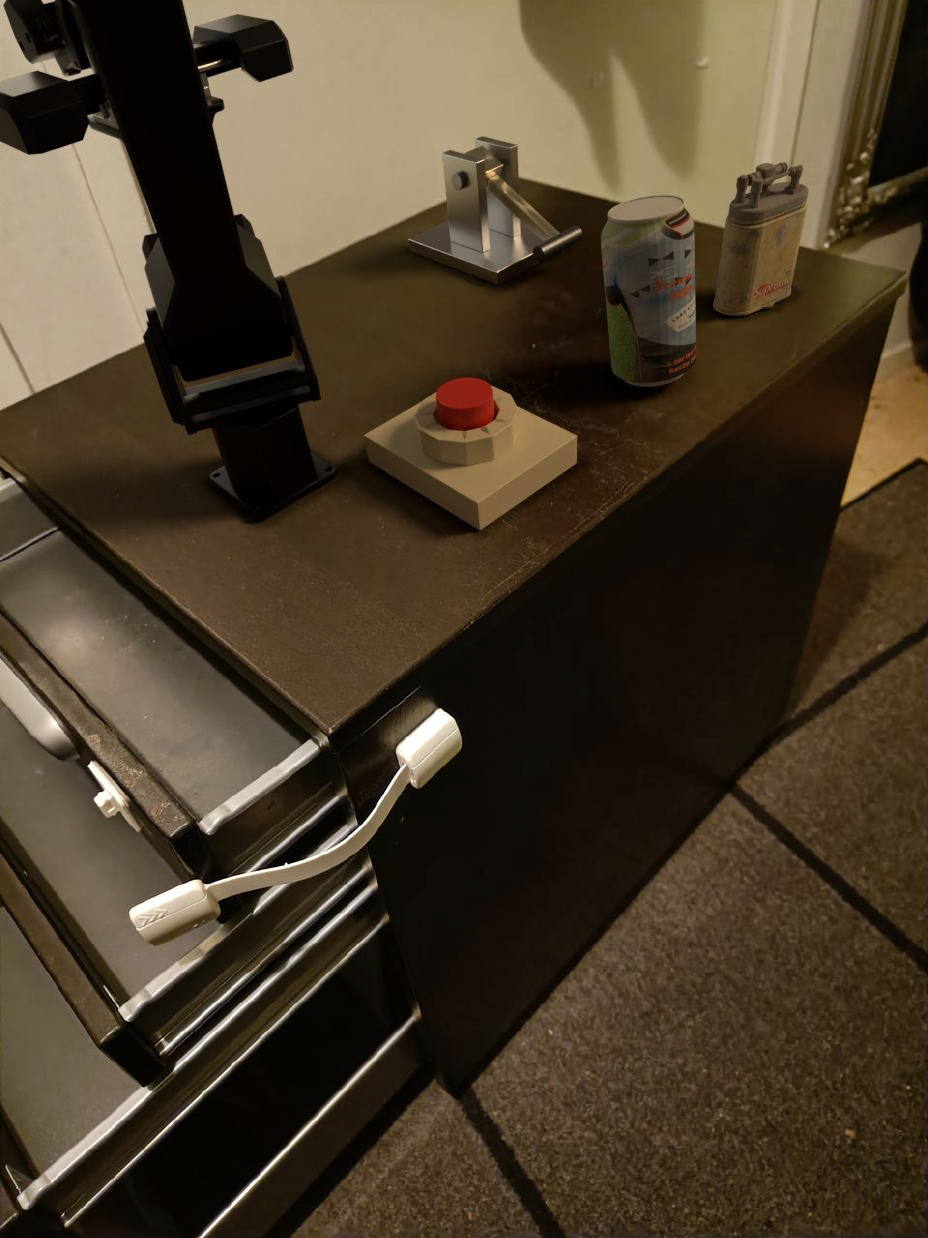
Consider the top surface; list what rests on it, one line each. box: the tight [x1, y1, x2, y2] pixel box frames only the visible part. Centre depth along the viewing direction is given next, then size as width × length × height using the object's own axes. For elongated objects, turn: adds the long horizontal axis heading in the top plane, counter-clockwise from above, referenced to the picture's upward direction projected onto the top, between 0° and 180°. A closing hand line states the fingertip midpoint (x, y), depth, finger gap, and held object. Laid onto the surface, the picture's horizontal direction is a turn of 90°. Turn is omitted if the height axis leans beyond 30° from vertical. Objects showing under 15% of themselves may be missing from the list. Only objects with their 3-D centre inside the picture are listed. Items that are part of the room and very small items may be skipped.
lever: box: [464, 146, 583, 263], centre depth 73 cm, size 12×5×2 cm, turn 43°
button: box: [435, 377, 494, 431], centre depth 53 cm, size 4×4×2 cm
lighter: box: [712, 161, 809, 317], centre depth 64 cm, size 7×4×10 cm, turn 122°
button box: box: [363, 385, 578, 531], centre depth 55 cm, size 11×9×4 cm
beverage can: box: [600, 194, 697, 388], centre depth 57 cm, size 6×7×12 cm
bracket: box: [407, 135, 566, 286], centre depth 76 cm, size 12×9×9 cm
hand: (189, 221), depth 58 cm, fingers closed
